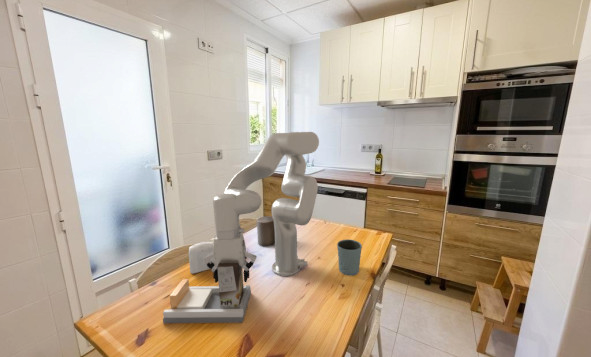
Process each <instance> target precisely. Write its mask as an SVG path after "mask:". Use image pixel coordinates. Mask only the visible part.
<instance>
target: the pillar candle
mask: <svg viewBox="0 0 591 357" xmlns="http://www.w3.org/2000/svg"><path fill="white" fill-rule="evenodd" d="M256 230H257V245H258V246H259V247H263V248H264V247H266V248H267V247H272V246H275V229H274V221H273V217H272V216H260V217H258V218H257V219H256Z"/></svg>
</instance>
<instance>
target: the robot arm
mask: <svg viewBox="0 0 591 357" xmlns="http://www.w3.org/2000/svg"><path fill="white" fill-rule="evenodd" d="M319 146H320V140H319V136H318V135H317V134H316V133H315V132H314V131H290V132H276V133H273V134H270V135H269V137H268V138H267V139H266V141H265V143H264V145H263V146H262V148H261V149H260V151H259V153H258V154H257V156H256V157H255V158H254V160H253V162H251V163H250V164H248V165H247V166H245V167H244V168H243V169H241V170H240V171H239V172H237V173H236V174H235V175H234V176H233V178H231V181H230V182H229V183H228V185H227V187H225V190H224V193H222V194H218V195H216V196H215V197H214V198H213V200H212V205H213V216H214V217H213V218H214V227H215V236H214V238H213V253H211V254H209V255H207V256H206V257H205V258H204V259H203V260H204V262H205V263H206V264H207V266H208V267H209V268H210V269H209V270H210V271H211V272H212V278H213V279H214V283H215V284H218V268H217V266H218V264H219V263H238V264H239V266H241V267H242V268H243V283H247V281H248V279H250V269H251V268H252V267H253V266H254V264H255V262H256V260H257V255H255V254H253V253H251V252H249V251H247V247H246V241H245V238H244V234H243V233H245V228H243V227H241V225H240V215H246V214H251V213H255V212H256V211H257V210H258V209H260V207H261V205H262V197H261V195H260V193H258V192H256V191H254V190H249V189H247V188H248V187H249V186H250V185H252V184H253V183H255V182H257V181H260V180H262V179H266V178H268V177H270V176H272V175H274V174H275V172H276V170H277V168H278V166H279V165H280V163H281V161H282V160H283V158H284V156H286V167H285V170H284V175H283V179H282V182H281V186H280V188H281V192H282V193H283V194H284V195H285V196H289V197H295V198H298V200H297V199H293V198H287V197H286V198H285V197H282V198H281V197H280V198H277V199H276V200H274V202H273V203H272V205H271V217H273V221H274V229H275V244H274V253H275V255H274V258H275V262H274V263H273V264H272V266H271V269H272V273H274V274H276V275H277V276H281V277H290V276H294V275H296V274H298V273H299V272H301V270H302V269H301V268H302V267H305V266H306V267H308V266H309V265H308V264H309V262H308V260H307V261H305V258H299V255H298V230H297V226H296V225H299V226H306V225H308V224H309V222H310V221H311V219H312V215H313V212H314V208H315V204H316V199H317V196H318V195H317V194H318V190H319V188H318V182H317V180H316V178H315V177H314V176H311V175H305V174H306V169H307V162H306V159H305V157H304V156H305V155H308V154H313V153H315V152H316V151H317V149H318V148H319ZM303 155H304V156H303ZM211 258H213V261H214V263H213V262H212V261H210V259H211ZM247 258H248V259H250V261H249V262H248V261H247Z"/></svg>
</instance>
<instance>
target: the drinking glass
mask: <svg viewBox="0 0 591 357" xmlns="http://www.w3.org/2000/svg"><path fill="white" fill-rule="evenodd" d="M336 246H337V257H338V270H339V272H340V273H341V274H342V275H344V276H350V277H351V276H356V275H358V274H359V273H360V265H361V257H362V256H361V253H362V248H363V245H362V244H361V242H360V241H357V240H354V239H342V240H339V241H337V244H336Z"/></svg>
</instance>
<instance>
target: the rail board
mask: <svg viewBox="0 0 591 357" xmlns="http://www.w3.org/2000/svg"><path fill="white" fill-rule="evenodd" d="M243 287H244V294H243V297H242V300H241V303H240V306H239V307H240V309H220V297H219V285H215V286H213V285H212V286H210V285H208V286H207V285H206V286H205V285H204V286H201V285H200V286H195V285H194V286H190V285H189V289H212V295H211V297H210V299H209V301H208V303H207V304H206V306H205V308H204V309H171V308H170V309H164V311H162V314H163V316H162V317H163V318H162V323H163V324H213V323H214V324H215V323H216V324H218V323H220V324H221V323H222V324H224V323H225V324H227V323H229V324H230V323H231V324H233V323H234V324H235V323H239V324H240V323H243V322H244V320H245V316H246V312H247V309H248V305H249V302H250V298H251V295H252V289H251V285H249V284H248V285H243Z"/></svg>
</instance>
